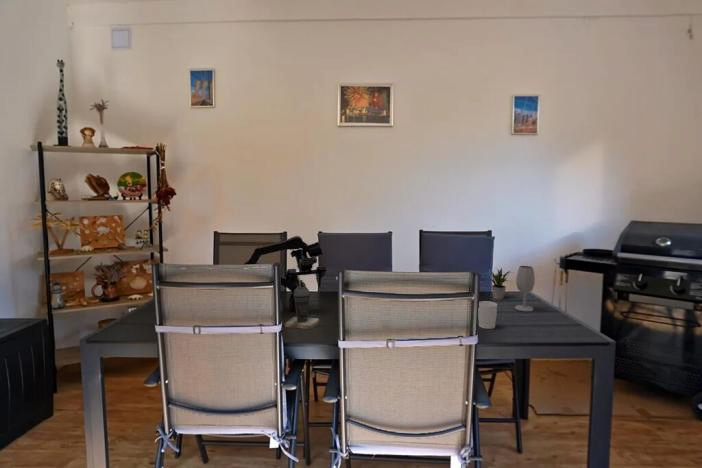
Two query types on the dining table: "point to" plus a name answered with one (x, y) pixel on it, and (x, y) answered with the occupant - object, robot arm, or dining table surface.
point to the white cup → (487, 314)
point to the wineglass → (525, 285)
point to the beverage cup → (301, 302)
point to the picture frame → (302, 323)
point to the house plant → (499, 284)
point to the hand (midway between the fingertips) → (310, 288)
